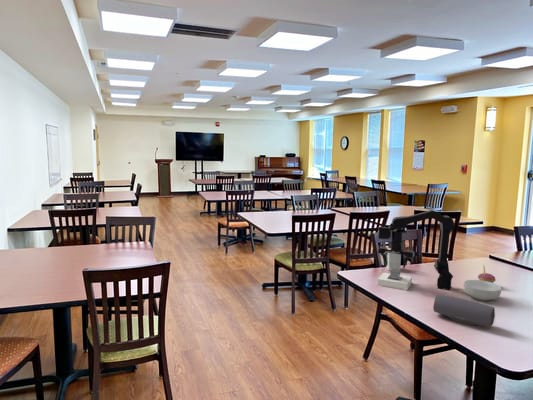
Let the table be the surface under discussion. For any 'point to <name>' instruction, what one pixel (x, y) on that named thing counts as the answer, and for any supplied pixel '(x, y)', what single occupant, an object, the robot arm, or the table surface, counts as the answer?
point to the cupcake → (486, 276)
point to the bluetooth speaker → (464, 310)
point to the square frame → (395, 281)
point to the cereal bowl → (482, 289)
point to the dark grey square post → (395, 274)
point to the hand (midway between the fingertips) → (395, 267)
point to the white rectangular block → (393, 261)
